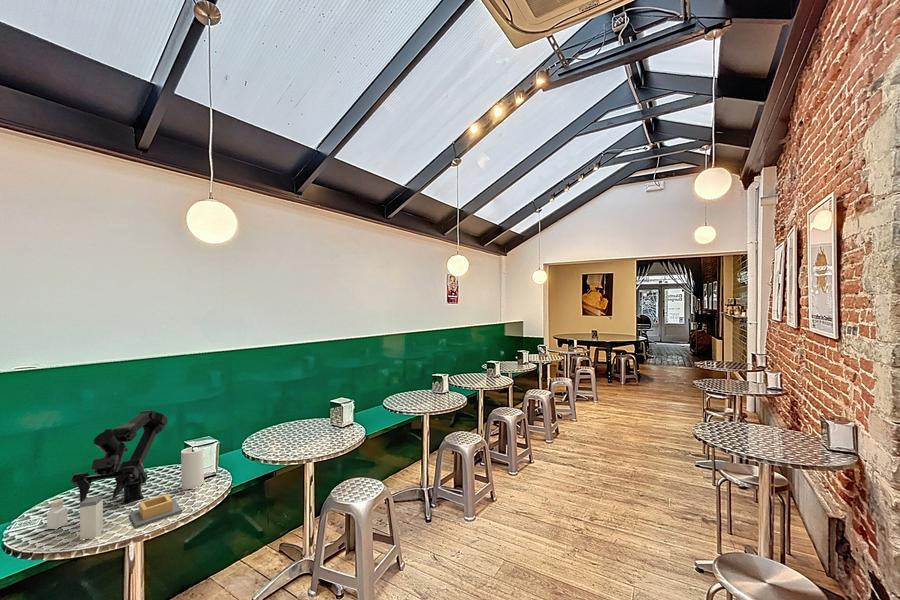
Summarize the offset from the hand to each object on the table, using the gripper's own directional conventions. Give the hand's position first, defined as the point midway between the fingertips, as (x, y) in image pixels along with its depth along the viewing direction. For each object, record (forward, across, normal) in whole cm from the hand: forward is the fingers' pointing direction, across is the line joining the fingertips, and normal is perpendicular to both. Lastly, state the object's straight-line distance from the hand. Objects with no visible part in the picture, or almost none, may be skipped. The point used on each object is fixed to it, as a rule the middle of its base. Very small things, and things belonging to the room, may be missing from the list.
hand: (97, 500), depth 137 cm
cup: (-12, +22, +27) cm, 37 cm away
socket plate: (+3, +15, +11) cm, 19 cm away
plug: (+10, 0, +5) cm, 11 cm away
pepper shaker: (+2, -16, +14) cm, 21 cm away
